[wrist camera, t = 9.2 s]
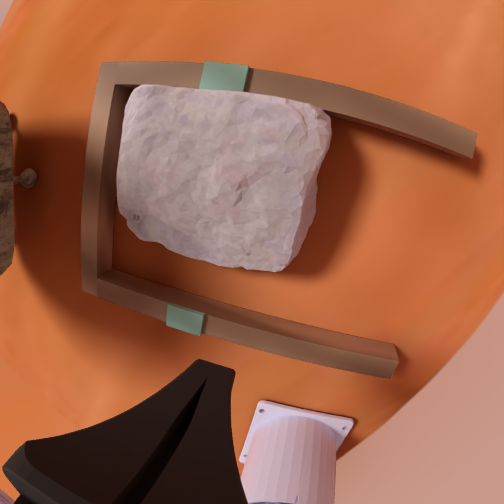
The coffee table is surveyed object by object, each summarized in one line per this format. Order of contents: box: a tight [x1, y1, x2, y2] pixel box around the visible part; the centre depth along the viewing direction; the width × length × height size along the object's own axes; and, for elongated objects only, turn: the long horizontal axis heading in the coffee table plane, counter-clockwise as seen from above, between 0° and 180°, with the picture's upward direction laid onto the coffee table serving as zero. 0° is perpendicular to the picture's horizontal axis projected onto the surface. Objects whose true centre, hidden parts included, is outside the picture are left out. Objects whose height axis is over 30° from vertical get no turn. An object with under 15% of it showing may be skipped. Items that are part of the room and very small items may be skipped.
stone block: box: [116, 84, 332, 272], centre depth 18 cm, size 12×5×10 cm
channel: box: [81, 61, 477, 379], centre depth 18 cm, size 16×22×2 cm
